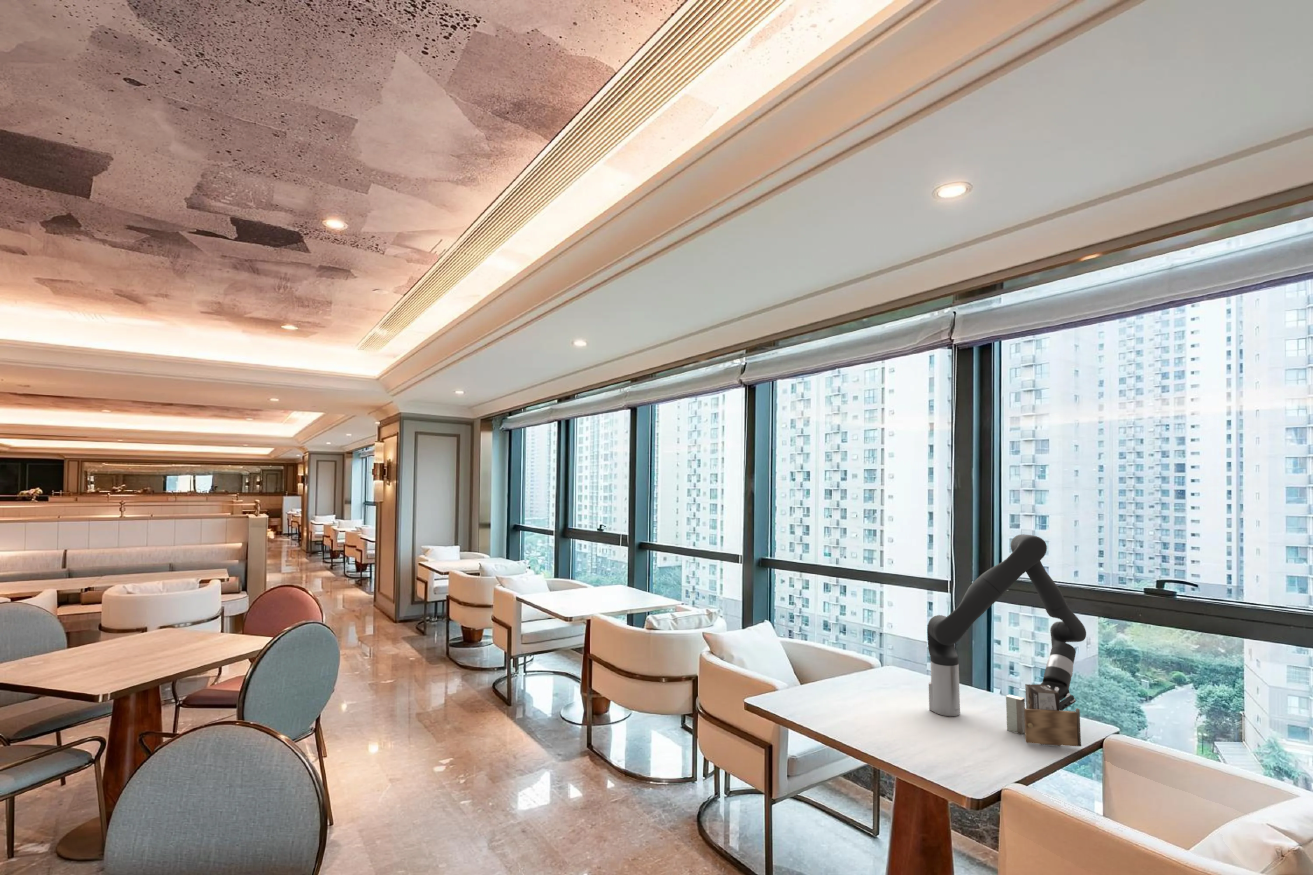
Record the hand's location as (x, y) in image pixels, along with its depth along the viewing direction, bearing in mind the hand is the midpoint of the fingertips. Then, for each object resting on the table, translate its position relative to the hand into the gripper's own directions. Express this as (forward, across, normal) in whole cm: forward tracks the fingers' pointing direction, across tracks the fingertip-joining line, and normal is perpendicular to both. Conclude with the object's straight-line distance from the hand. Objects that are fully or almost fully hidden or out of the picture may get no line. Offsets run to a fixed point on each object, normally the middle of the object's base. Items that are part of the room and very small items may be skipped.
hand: (1047, 718), depth 205 cm
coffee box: (+8, 0, 0) cm, 8 cm away
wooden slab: (+10, +5, -4) cm, 12 cm away
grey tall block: (+7, -8, 0) cm, 11 cm away
